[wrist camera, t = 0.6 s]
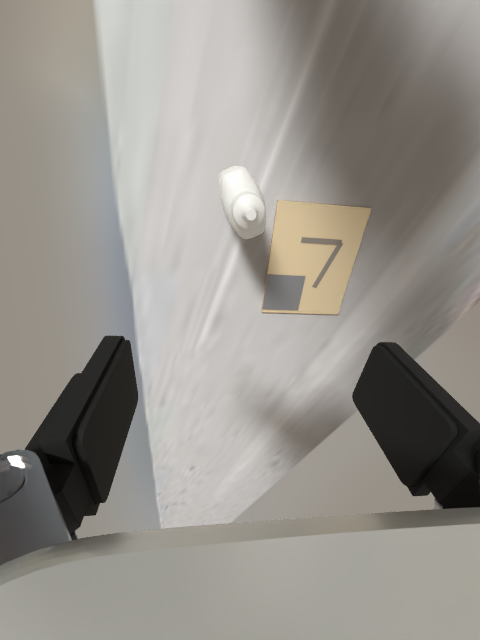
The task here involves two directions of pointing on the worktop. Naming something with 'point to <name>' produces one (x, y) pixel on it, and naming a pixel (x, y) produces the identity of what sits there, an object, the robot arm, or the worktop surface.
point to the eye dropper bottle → (242, 201)
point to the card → (312, 256)
